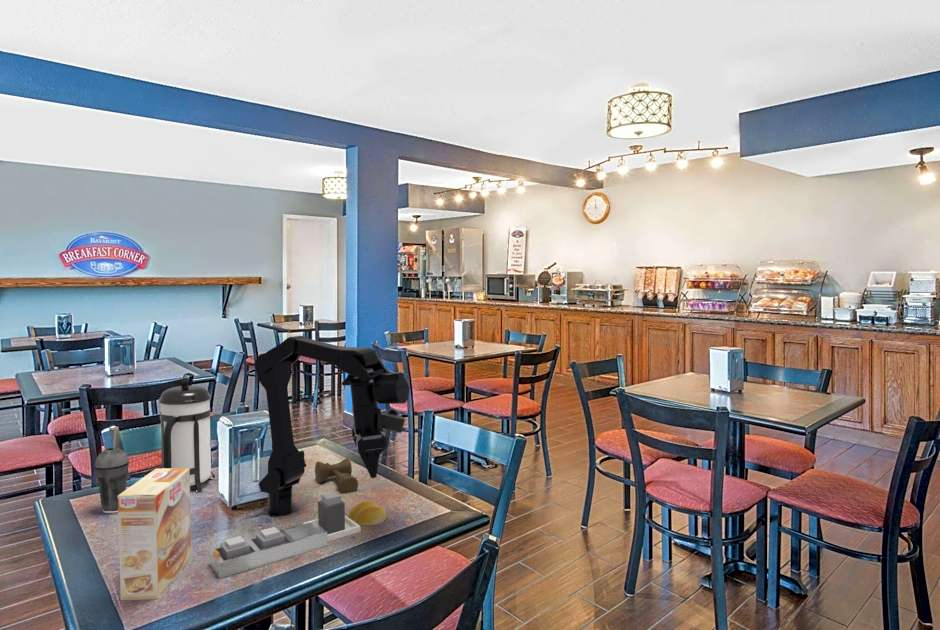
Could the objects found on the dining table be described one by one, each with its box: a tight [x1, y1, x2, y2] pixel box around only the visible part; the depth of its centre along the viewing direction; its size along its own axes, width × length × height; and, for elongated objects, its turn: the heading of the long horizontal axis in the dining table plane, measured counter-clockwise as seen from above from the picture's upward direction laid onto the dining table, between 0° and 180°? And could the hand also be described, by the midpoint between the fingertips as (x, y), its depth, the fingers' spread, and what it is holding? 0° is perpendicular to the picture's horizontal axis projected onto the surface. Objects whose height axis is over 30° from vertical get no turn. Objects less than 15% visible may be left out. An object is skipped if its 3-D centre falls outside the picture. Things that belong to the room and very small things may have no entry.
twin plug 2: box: [255, 526, 285, 550], centre depth 119 cm, size 4×4×5 cm
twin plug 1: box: [219, 535, 250, 561], centre depth 115 cm, size 4×4×5 cm
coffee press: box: [158, 377, 216, 492], centre depth 157 cm, size 17×16×30 cm
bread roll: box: [349, 500, 388, 527], centre depth 138 cm, size 8×9×4 cm
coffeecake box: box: [117, 467, 192, 601], centre depth 109 cm, size 15×7×20 cm, turn 5°
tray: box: [302, 514, 362, 542], centre depth 131 cm, size 10×10×2 cm
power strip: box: [208, 520, 329, 579], centre depth 119 cm, size 7×22×4 cm, turn 129°
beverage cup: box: [93, 428, 130, 511], centre depth 141 cm, size 7×7×20 cm
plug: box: [317, 491, 346, 535], centre depth 131 cm, size 4×4×8 cm
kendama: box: [314, 458, 359, 494], centre depth 162 cm, size 6×10×20 cm
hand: (371, 472), depth 131 cm, fingers open, 9 cm apart
